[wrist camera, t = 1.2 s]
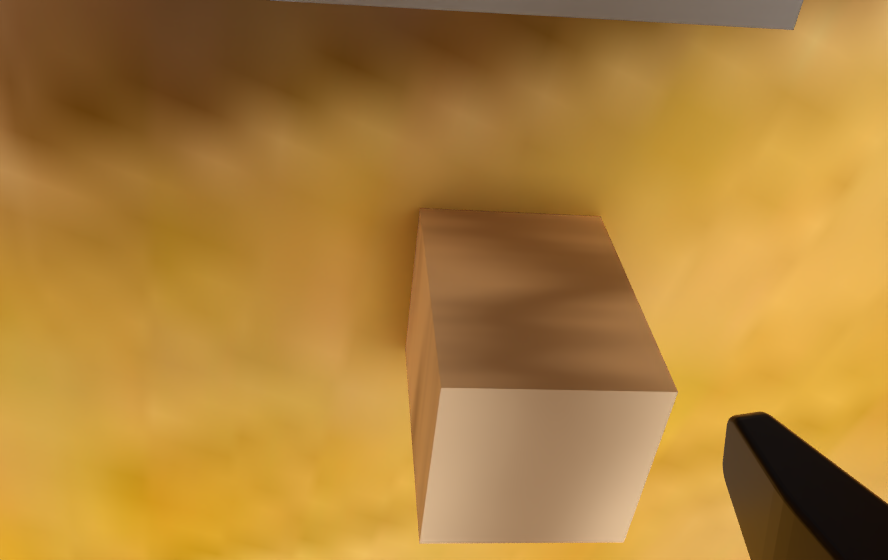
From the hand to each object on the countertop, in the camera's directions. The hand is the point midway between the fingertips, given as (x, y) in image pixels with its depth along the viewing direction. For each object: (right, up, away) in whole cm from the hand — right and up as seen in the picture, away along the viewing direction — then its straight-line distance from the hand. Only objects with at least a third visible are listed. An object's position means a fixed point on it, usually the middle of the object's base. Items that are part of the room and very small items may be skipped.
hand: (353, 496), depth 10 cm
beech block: (+3, +2, +14) cm, 15 cm away
